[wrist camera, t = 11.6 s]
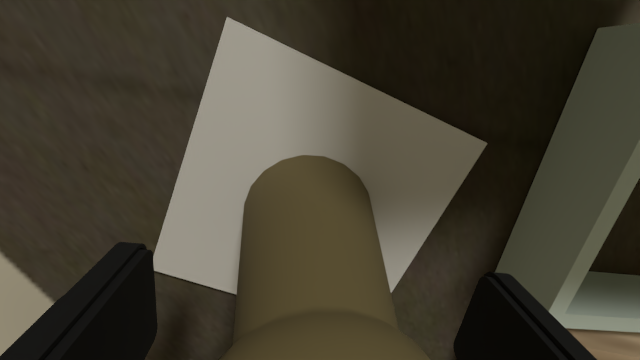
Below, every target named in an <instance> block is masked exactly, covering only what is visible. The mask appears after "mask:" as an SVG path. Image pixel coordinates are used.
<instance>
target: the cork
mask: <svg viewBox="0 0 640 360" xmlns="http://www.w3.org/2000/svg"><path fill="white" fill-rule="evenodd" d="M219 360H430V359H429V358H428V357H427V355H426V354H425V353H424V351H423V350H422V349H421V348H420V346H419V345H418V344H417V342H416V341H414V340H413V339H411V338H410V337H408V336H407V335H405V334H404V333H402V332H401V331H399V328H398V324H397V319H396V315H395V310H394V305H393V301H392V296H391V292H390V287H389V283H388V278H387V274H386V269H385V265H384V260H383V256H382V251H381V247H380V242H379V237H378V233H377V228H376V224H375V219H374V215H373V210H372V206H371V201H370V197H369V193H368V191H367V189H366V188H365V186H364V184H363V182H362V181H361V179H360V177H359V176H358V175H356V174H355V173H354V172H353V171H352V170H351V169H349V168H348V167H347V166H346V165H345V164H343V163H340V162H338V161H335V160H333V159H330V158H327V157H325V156H312V155H300V156H296V157H292V158H288V159H284V160H281V161H279V162H278V163H276V164H274V165H273V166H271V167H269V168H268V169H266V170H264V171H263V172H262V174H261V175H260V176H259V177H258V178H257V180H256V181H255V182H254V183H253V184H252V185H251V187H250V190H249V193H248V195H247V198H246V201H245V203H244V213H243V224H242V236H241V248H240V260H239V272H238V284H237V296H236V307H235V319H234V331H233V343H232V347H231V348H230V349H229V350H228V351H227V352H226V353H225V354H224V355H223V356H222V357H221V358H220V359H219Z"/></svg>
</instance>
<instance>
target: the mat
mask: <svg viewBox="0 0 640 360" xmlns="http://www.w3.org/2000/svg"><path fill="white" fill-rule="evenodd" d="M487 144H488V143H486V142H484V141H482V140H480V139H478V138H476V137H474V136H472V135H470V134H467V133H465V132H463V131H461V130H459V129H457V128H455V127H453V126H451V125H449V124H447V123H445V122H443V121H441V120H439V119H437V118H434V117H432V116H430V115H428V114H426V113H424V112H422V111H420V110H418V109H416V108H414V107H412V106H410V105H408V104H406V103H404V102H401V101H399V100H397V99H395V98H393V97H391V96H389V95H387V94H385V93H383V92H381V91H379V90H377V89H375V88H373V87H371V86H368V85H366V84H364V83H362V82H360V81H358V80H356V79H354V78H352V77H350V76H348V75H346V74H344V73H342V72H340V71H338V70H335V69H333V68H331V67H329V66H327V65H325V64H323V63H321V62H319V61H317V60H315V59H313V58H311V57H309V56H307V55H305V54H302V53H300V52H298V51H296V50H294V49H292V48H290V47H288V46H286V45H284V44H282V43H280V42H278V41H276V40H274V39H272V38H269V37H267V36H265V35H263V34H261V33H259V32H257V31H255V30H253V29H251V28H249V27H247V26H245V25H243V24H241V23H239V22H236V21H234V20H232V19H230V18H228V17H227V19H226V22H225V25H224V28H223V32H222V35H221V38H220V42H219V45H218V48H217V51H216V55H215V58H214V61H213V64H212V68H211V71H210V74H209V77H208V81H207V84H206V87H205V90H204V94H203V97H202V100H201V103H200V107H199V110H198V113H197V117H196V120H195V123H194V126H193V130H192V133H191V136H190V139H189V143H188V146H187V149H186V152H185V156H184V159H183V162H182V165H181V169H180V172H179V175H178V178H177V182H176V185H175V188H174V192H173V195H172V198H171V201H170V205H169V208H168V211H167V214H166V218H165V221H164V224H163V227H162V231H161V234H160V237H159V240H158V244H157V247H156V250H155V253H154V257H153V265H154V271H157V272H161V273H164V274H167V275H171V276H174V277H178V278H181V279H185V280H188V281H191V282H195V283H198V284H202V285H205V286H209V287H212V288H215V289H219V290H222V291H226V292H229V293H233V294H236V295H237V284H238V272H239V260H240V248H241V236H242V224H243V213H244V203H245V201H246V198H247V195H248V193H249V190H250V187H251V185H252V184H253V183H254V182H255V181H256V180H257V178H258V177H259V176H260V175H261V174H262V172H263V171H264V170H266V169H268V168H269V167H271V166H273V165H274V164H276V163H278V162H279V161H281V160H284V159H288V158H292V157H296V156H300V155H312V156H325V157H327V158H330V159H333V160H335V161H338V162H340V163H343V164H345V165H346V166H347V167H348V168H349V169H351V170H352V171H353V172H354V173H355V174H356V175H358V176H359V177H360V179H361V181H362V182H363V184H364V186H365V188H366V189H367V191H368V193H369V197H370V201H371V206H372V210H373V215H374V219H375V224H376V228H377V233H378V237H379V242H380V247H381V251H382V256H383V260H384V265H385V269H386V274H387V278H388V283H389V287H390V292H392V291H393V289H394V288H395V286H396V285H397V283H398V282H399V280H400V279H401V277H402V275H403V274H404V272H405V271H406V269H407V268H408V266H409V265H410V263H411V261H412V260H413V258H414V257H415V255H416V254H417V252H418V251H419V249H420V248H421V246H422V244H423V243H424V241H425V240H426V238H427V237H428V235H429V234H430V232H431V230H432V229H433V227H434V226H435V224H436V223H437V221H438V220H439V218H440V217H441V215H442V213H443V212H444V210H445V209H446V207H447V206H448V204H449V203H450V201H451V199H452V198H453V196H454V195H455V193H456V192H457V190H458V189H459V187H460V186H461V184H462V182H463V181H464V179H465V178H466V176H467V175H468V173H469V172H470V170H471V168H472V167H473V165H474V164H475V162H476V161H477V159H478V158H479V156H480V155H481V153H482V151H483V150H484V148H485V147H486V145H487Z"/></svg>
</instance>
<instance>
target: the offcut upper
mask: <svg viewBox="0 0 640 360" xmlns="http://www.w3.org/2000/svg"><path fill="white" fill-rule="evenodd" d="M566 329H567V330H568V331H569V332H570V333H571V334H572V335H573V336H574V337H575V338H576V339H577V340H578V341H579V342H580V343H581V344H582V345H583V346H584V347H585V348H586V349H587V350H588V351H589V352H590V353H591V354H592V355H593V356H594V357H595V358H596V359H597V360H640V333H638V332H621V331H605V330H588V329H571V328H566Z"/></svg>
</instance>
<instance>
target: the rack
mask: <svg viewBox="0 0 640 360" xmlns="http://www.w3.org/2000/svg"><path fill="white" fill-rule="evenodd" d="M639 178H640V23H636V24H628V25H619V26H611V27H603V28H598V29H597V31H596V34H595V36H594V38H593V41H592V43H591V45H590V48H589V50H588V52H587V55H586V57H585V60H584V62H583V64H582V67H581V69H580V71H579V74H578V76H577V79H576V81H575V83H574V86H573V88H572V90H571V93H570V95H569V98H568V100H567V102H566V105H565V107H564V109H563V112H562V114H561V116H560V119H559V121H558V124H557V126H556V128H555V131H554V133H553V135H552V138H551V140H550V143H549V145H548V147H547V150H546V152H545V154H544V157H543V159H542V162H541V164H540V166H539V169H538V171H537V173H536V176H535V178H534V180H533V183H532V185H531V188H530V190H529V192H528V195H527V197H526V199H525V202H524V204H523V207H522V209H521V211H520V214H519V216H518V218H517V221H516V223H515V226H514V228H513V230H512V233H511V235H510V237H509V240H508V242H507V244H506V247H505V249H504V252H503V254H502V256H501V259H500V261H499V263H498V266H497V268H496V271H495V272H497V273H507V274H510V275H512V276H513V277H514V278H515V279H516V280H517V281H518V282H519V283H520V284H521V285H522V286H523V287H524V288H525V289H526V290H527V291H528V292H529V293H530V294H531V295H532V296H533V297H534V298H535V299H536V300H537V301H538V302H539V303H540V304H541V305H542V306H543V307H544V308H545V309H546V310H547V311H548V312H549V313H550V314H552V315H553V316H554V317H555V318H556V319H557V320H558V321H559V322H560V323H561V324H562V325H563V326H564V327H565V328H571V329H588V330H605V331H621V332H638V333H640V275H628V274H616V273H604V272H592V271H588V270H589V269H590V267H591V265H592V263H593V261H594V260H595V258H596V256H597V254H598V252H599V251H600V249H601V247H602V245H603V243H604V241H605V240H606V238H607V236H608V234H609V232H610V231H611V229H612V227H613V225H614V223H615V222H616V220H617V218H618V216H619V214H620V213H621V211H622V209H623V207H624V205H625V204H626V202H627V200H628V198H629V196H630V195H631V193H632V191H633V189H634V187H635V185H636V184H637V182H638V180H639Z"/></svg>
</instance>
